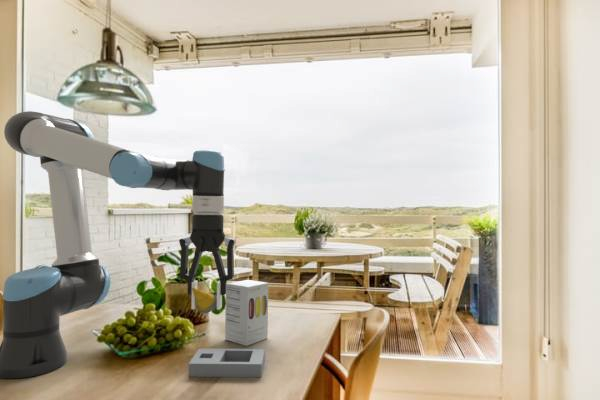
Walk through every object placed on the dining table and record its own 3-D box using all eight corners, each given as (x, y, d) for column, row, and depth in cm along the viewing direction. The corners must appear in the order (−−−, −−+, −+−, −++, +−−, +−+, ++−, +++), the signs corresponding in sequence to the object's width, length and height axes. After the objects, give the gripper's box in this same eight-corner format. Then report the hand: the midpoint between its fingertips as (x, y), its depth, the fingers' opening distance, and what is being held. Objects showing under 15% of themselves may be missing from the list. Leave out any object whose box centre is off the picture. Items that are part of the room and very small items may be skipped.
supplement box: (246, 346, 116) (246, 287, 117) (223, 340, 122) (224, 283, 122) (268, 338, 124) (269, 282, 124) (246, 332, 130) (247, 278, 130)
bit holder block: (188, 376, 96) (188, 363, 96) (199, 360, 106) (199, 348, 106) (261, 377, 96) (261, 364, 96) (265, 360, 106) (265, 349, 106)
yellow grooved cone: (223, 315, 102) (200, 292, 96) (204, 322, 103) (181, 300, 97) (224, 298, 106) (202, 275, 100) (206, 305, 107) (183, 283, 101)
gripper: (165, 213, 98) (164, 311, 97) (243, 214, 98) (242, 312, 97) (175, 212, 105) (174, 303, 105) (247, 213, 105) (246, 304, 105)
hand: (206, 307), depth 101 cm, fingers closed on yellow grooved cone, 5 cm apart
